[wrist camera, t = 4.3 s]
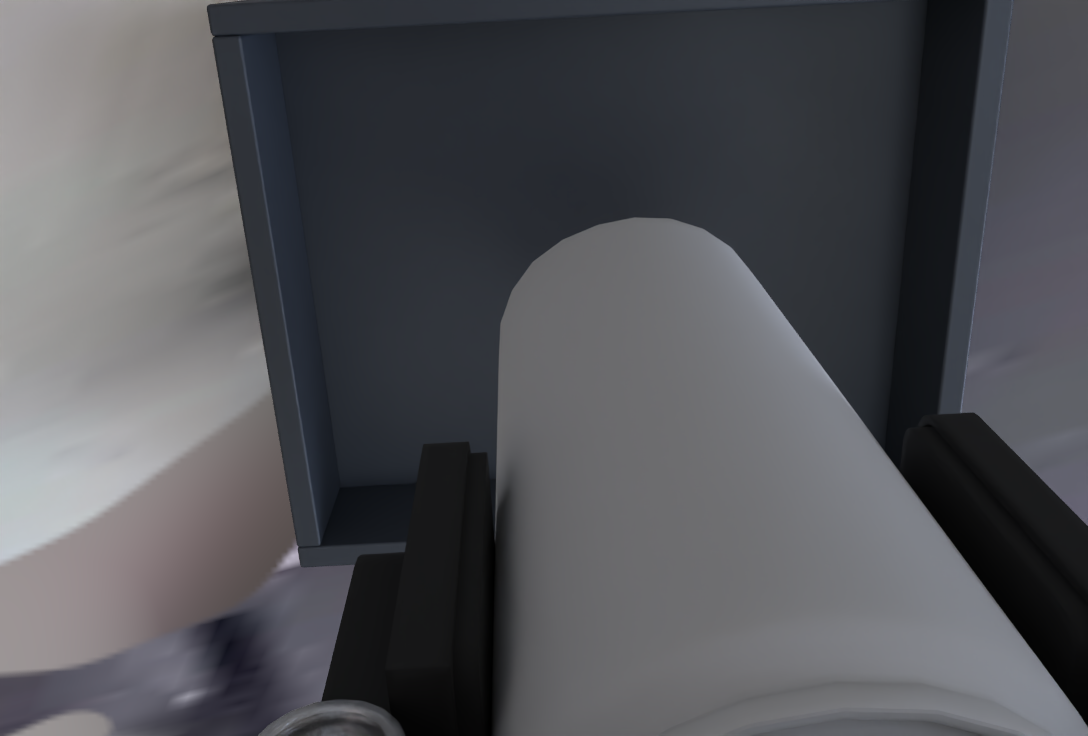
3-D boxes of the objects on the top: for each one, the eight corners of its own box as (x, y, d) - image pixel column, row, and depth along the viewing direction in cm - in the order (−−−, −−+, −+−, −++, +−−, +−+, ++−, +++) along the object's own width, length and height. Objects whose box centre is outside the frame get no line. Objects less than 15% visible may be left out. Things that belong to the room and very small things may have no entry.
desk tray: (248, -1, 22) (205, 4, 19) (949, -37, 23) (1019, -38, 19) (324, 500, 27) (300, 568, 24) (898, 468, 28) (947, 532, 24)
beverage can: (444, 347, 18) (342, 992, 7) (624, 147, 17) (857, 551, 6) (634, 494, 19) (803, 1228, 8) (815, 320, 18) (1304, 920, 7)
